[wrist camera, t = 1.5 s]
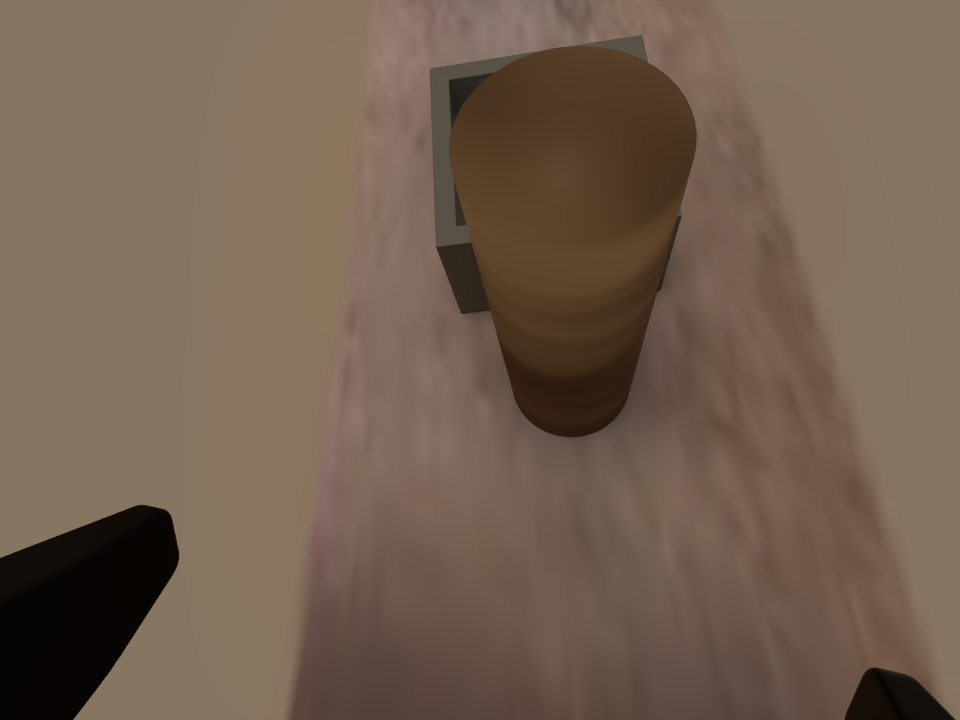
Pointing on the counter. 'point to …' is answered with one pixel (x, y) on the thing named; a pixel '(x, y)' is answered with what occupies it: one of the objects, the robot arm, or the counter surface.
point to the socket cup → (450, 222)
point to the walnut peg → (572, 220)
